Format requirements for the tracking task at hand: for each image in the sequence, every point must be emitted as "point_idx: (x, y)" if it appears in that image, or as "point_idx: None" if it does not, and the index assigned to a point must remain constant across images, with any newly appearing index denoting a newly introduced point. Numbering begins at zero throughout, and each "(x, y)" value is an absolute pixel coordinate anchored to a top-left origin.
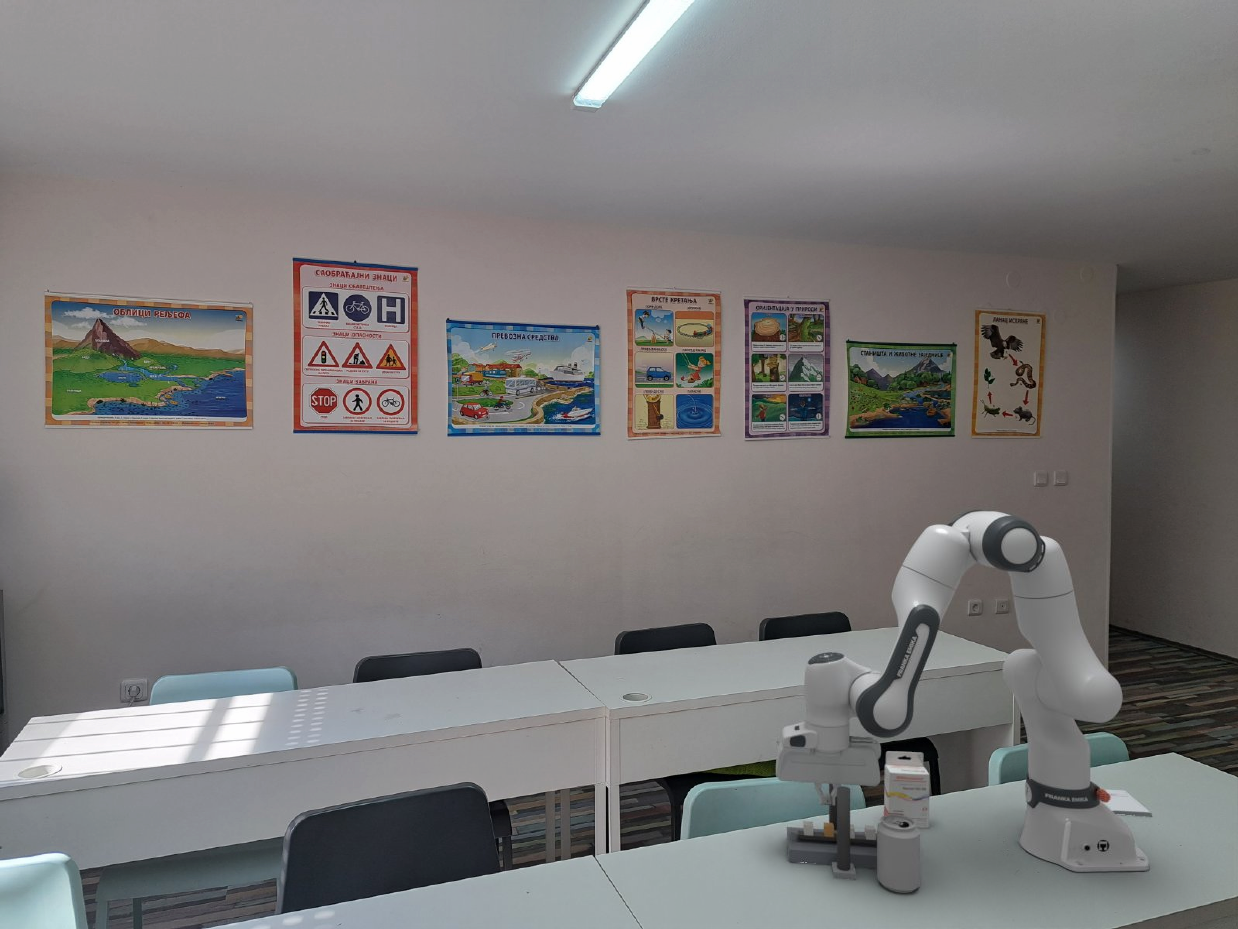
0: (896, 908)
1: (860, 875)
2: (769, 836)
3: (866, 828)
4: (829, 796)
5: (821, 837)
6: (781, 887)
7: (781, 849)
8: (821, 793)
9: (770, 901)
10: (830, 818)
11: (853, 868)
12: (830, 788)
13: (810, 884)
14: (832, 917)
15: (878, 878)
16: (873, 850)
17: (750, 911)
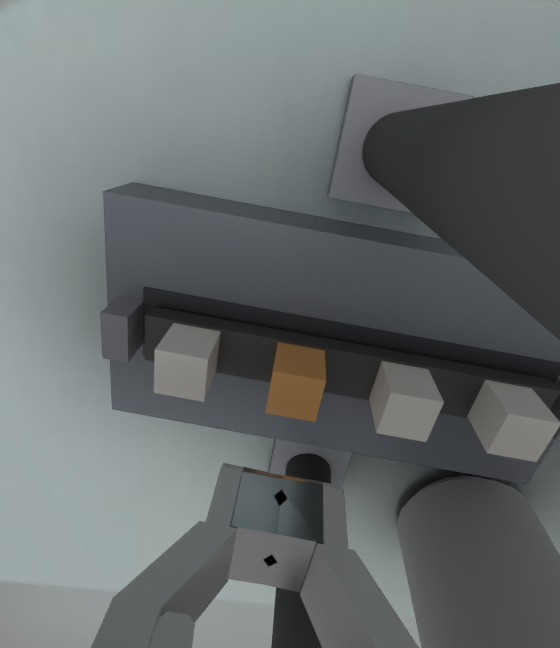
0: (389, 585)
1: (362, 461)
2: (46, 148)
3: (494, 446)
4: (283, 581)
5: (255, 377)
6: (106, 496)
7: (106, 282)
8: (202, 610)
9: (79, 541)
10: (374, 174)
11: (341, 475)
12: (429, 216)
13: (190, 490)
14: (220, 595)
15: (398, 528)
16: (466, 436)
17: (36, 565)
